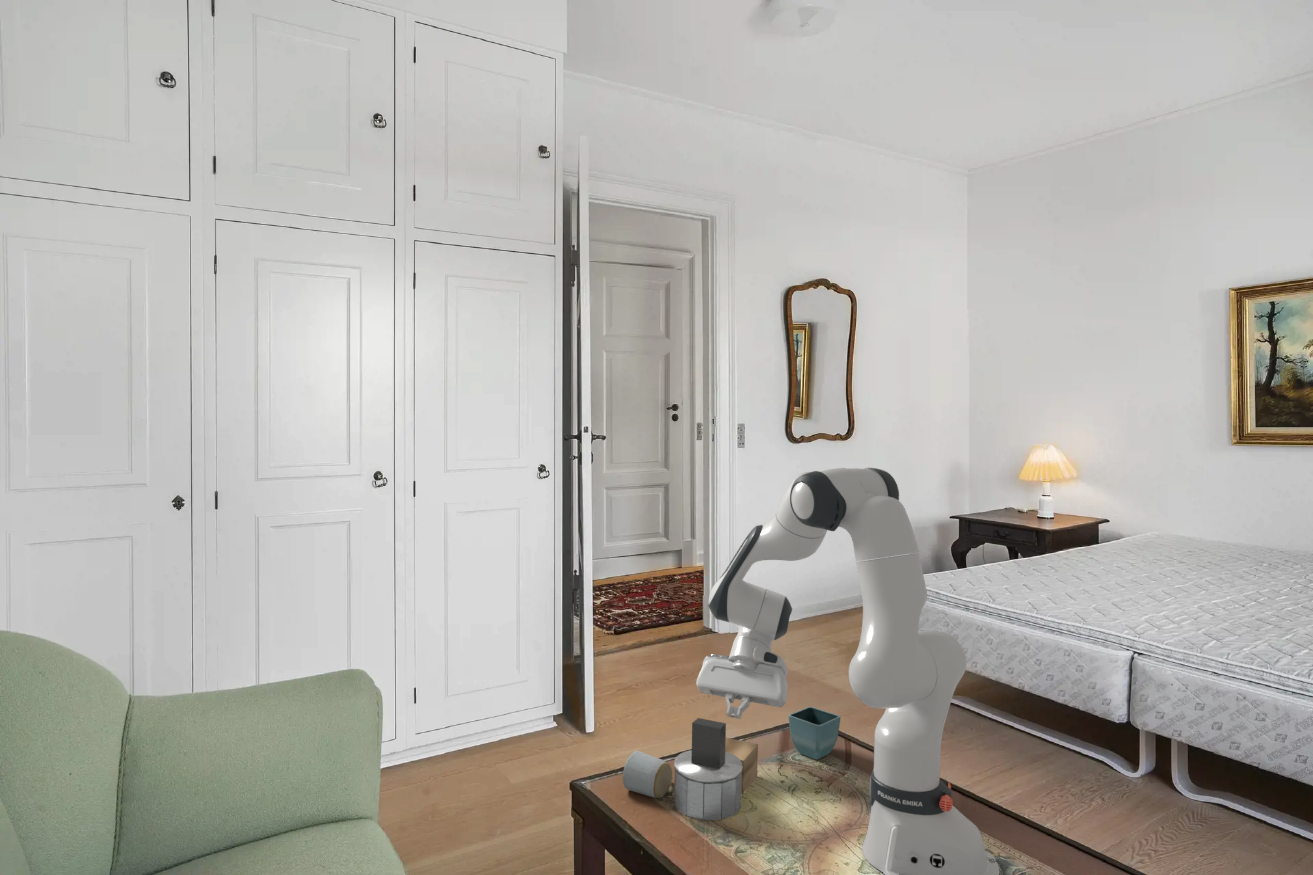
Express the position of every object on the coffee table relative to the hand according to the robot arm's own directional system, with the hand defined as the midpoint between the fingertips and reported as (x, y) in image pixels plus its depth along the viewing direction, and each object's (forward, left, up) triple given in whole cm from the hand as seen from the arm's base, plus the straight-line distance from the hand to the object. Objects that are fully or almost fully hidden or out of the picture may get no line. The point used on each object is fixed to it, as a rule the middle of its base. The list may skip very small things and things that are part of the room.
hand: (733, 716), depth 168 cm
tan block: (0, +3, -13) cm, 13 cm away
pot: (0, +14, -13) cm, 19 cm away
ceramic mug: (+13, +14, -13) cm, 23 cm away
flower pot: (-13, -19, -13) cm, 26 cm away
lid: (0, +14, -5) cm, 15 cm away
